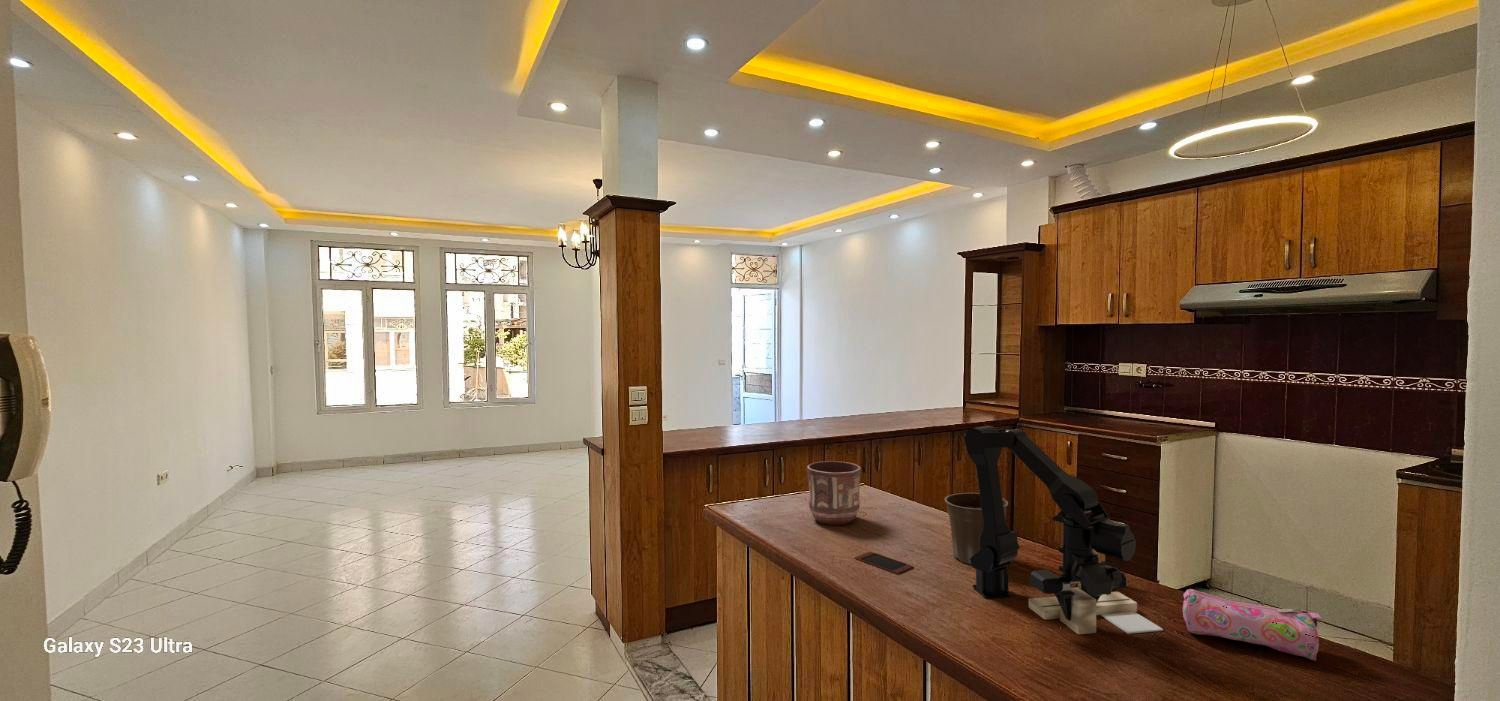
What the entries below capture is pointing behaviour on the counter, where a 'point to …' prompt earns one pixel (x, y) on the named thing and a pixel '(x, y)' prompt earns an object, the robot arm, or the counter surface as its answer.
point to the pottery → (834, 491)
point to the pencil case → (1252, 623)
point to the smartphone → (884, 563)
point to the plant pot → (966, 524)
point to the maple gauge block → (1081, 613)
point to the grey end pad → (1131, 622)
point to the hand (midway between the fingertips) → (1077, 618)
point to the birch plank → (1104, 605)
